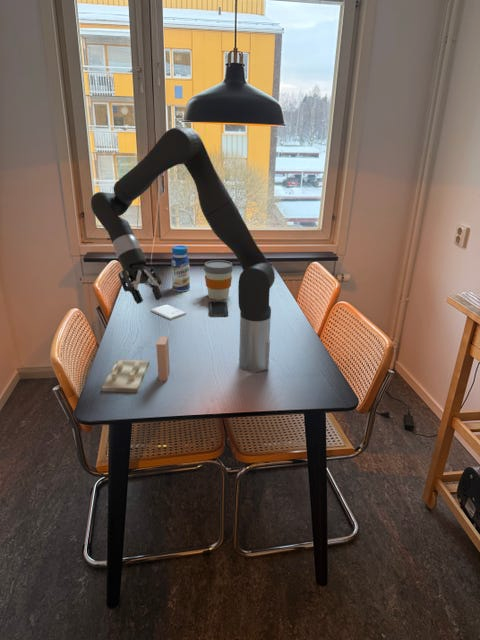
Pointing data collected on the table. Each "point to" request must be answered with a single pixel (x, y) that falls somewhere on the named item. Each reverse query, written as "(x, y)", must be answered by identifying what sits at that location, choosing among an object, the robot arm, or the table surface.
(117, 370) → the plate
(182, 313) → the external hard drive
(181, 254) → the beverage bottle
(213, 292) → the reusable coffee cup
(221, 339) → the table surface
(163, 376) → the block
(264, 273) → the robot arm
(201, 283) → the table surface
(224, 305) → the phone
